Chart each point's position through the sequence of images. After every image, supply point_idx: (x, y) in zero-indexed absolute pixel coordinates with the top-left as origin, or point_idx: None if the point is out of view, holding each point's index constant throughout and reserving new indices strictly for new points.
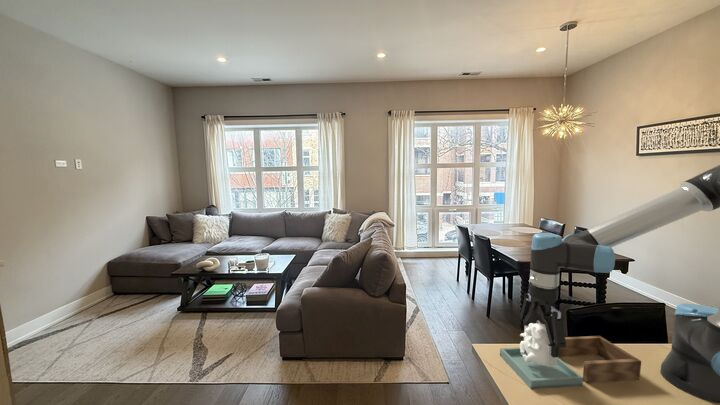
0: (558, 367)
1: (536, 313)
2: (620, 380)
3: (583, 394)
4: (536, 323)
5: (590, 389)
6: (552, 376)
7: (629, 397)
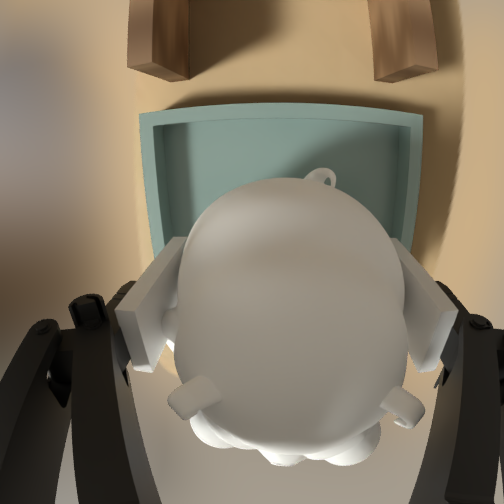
0: (295, 131)
1: (147, 500)
2: None
3: (442, 156)
4: (237, 437)
5: (424, 100)
6: None
7: (456, 9)
